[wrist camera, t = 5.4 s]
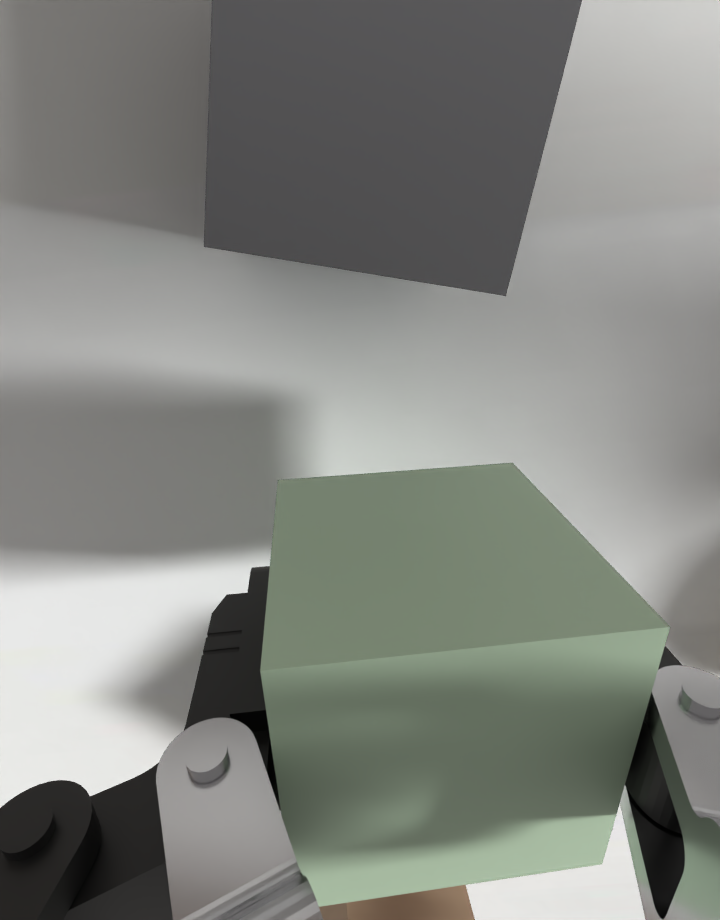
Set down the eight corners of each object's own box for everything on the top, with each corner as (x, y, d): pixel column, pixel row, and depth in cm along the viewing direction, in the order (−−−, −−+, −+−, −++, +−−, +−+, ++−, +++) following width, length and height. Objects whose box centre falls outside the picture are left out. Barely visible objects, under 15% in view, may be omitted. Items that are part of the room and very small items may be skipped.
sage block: (512, 462, 11) (670, 627, 6) (493, 641, 13) (602, 864, 8) (277, 479, 10) (260, 670, 6) (297, 662, 12) (296, 910, 8)
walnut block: (440, 792, 22) (479, 936, 17) (393, 859, 24) (417, 1007, 19) (335, 775, 21) (348, 926, 16) (293, 848, 22) (294, 1004, 18)
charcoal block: (478, 42, 11) (606, -94, 7) (431, 276, 13) (505, 296, 9) (251, -17, 10) (218, -219, 6) (236, 244, 12) (204, 246, 8)
